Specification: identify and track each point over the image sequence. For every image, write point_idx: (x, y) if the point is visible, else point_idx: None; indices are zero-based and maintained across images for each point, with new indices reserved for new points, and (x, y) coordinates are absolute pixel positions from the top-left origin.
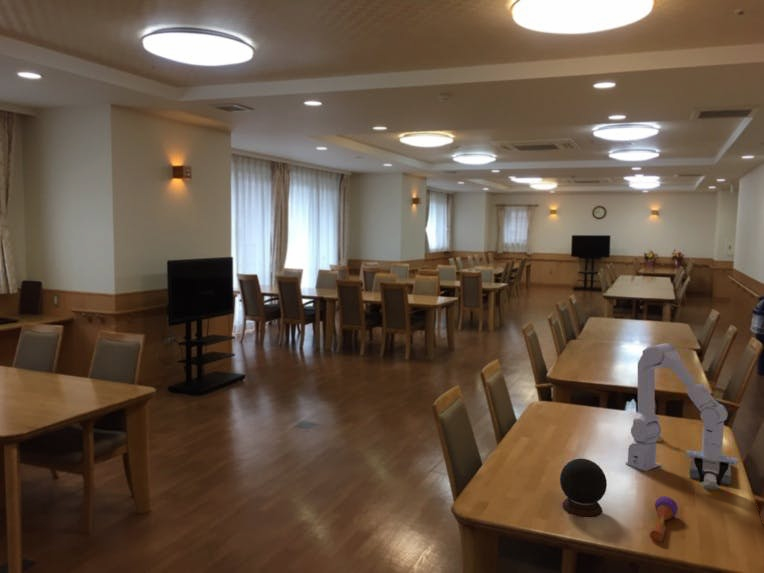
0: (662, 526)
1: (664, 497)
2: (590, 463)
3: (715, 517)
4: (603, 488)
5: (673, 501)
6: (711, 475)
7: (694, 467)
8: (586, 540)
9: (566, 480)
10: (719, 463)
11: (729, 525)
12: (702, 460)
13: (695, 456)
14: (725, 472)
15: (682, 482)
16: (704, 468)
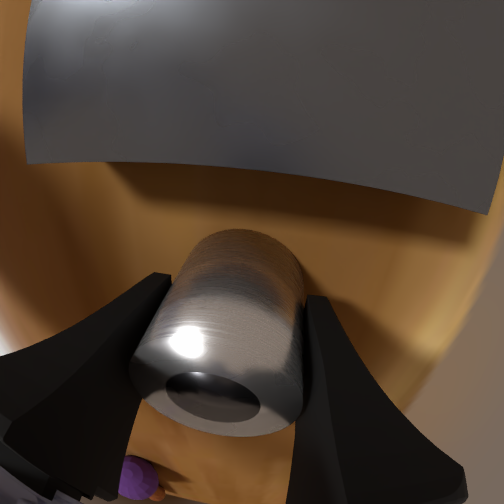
0: (154, 495)
1: (123, 495)
2: None
3: (247, 470)
4: None
5: (143, 498)
6: (224, 427)
7: (51, 83)
8: None
9: None
10: (326, 502)
11: (278, 482)
12: (75, 487)
13: (2, 475)
14: (459, 86)
15: (73, 264)
16: (157, 31)
